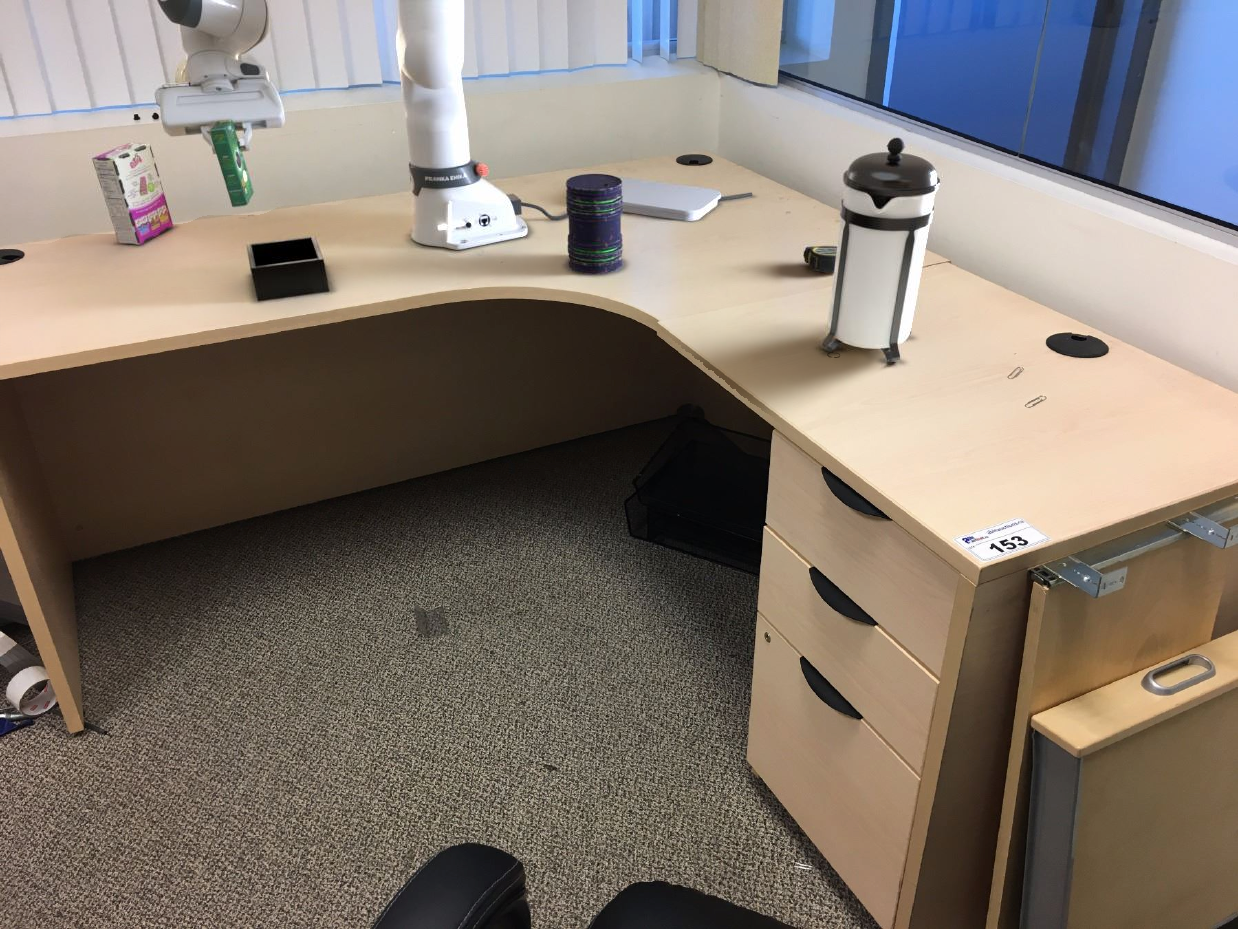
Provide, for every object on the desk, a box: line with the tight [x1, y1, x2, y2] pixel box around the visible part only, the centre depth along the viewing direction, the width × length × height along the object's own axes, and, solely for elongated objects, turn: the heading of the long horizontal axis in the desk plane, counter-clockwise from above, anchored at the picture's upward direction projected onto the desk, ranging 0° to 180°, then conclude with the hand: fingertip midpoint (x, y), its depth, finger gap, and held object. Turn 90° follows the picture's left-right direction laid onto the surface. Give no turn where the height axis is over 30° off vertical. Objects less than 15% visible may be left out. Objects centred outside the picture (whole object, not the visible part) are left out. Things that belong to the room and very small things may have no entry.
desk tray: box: [246, 235, 330, 302], centre depth 161 cm, size 12×13×6 cm
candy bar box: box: [91, 142, 174, 246], centre depth 179 cm, size 11×5×16 cm, turn 168°
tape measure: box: [803, 245, 838, 274], centre depth 166 cm, size 7×7×4 cm
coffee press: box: [821, 137, 941, 364], centre depth 134 cm, size 17×16×30 cm
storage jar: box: [565, 173, 624, 276], centre depth 165 cm, size 10×10×15 cm
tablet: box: [619, 177, 722, 222], centre depth 199 cm, size 16×26×2 cm, turn 64°
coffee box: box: [209, 119, 255, 208], centre depth 163 cm, size 8×3×13 cm, turn 10°
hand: (231, 150), depth 164 cm, fingers closed on coffee box, 3 cm apart
